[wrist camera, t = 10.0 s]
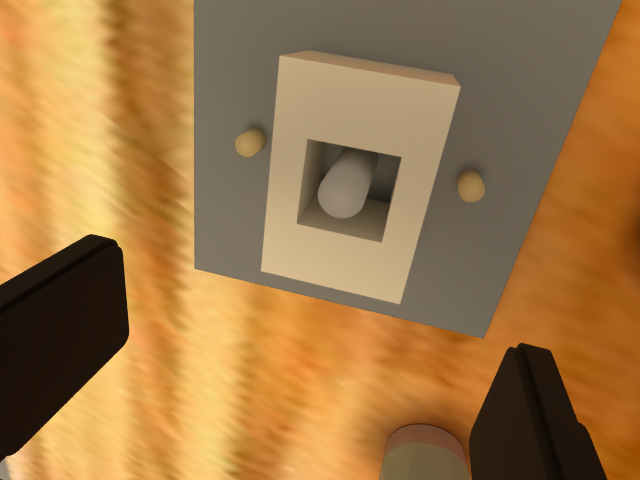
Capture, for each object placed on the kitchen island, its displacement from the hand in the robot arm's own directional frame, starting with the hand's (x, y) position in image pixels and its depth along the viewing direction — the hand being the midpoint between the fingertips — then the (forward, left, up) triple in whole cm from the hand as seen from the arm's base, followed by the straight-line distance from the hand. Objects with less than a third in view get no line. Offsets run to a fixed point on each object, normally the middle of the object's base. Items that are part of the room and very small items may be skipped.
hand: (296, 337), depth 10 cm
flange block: (0, 0, -15) cm, 15 cm away
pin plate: (0, 0, -16) cm, 16 cm away
